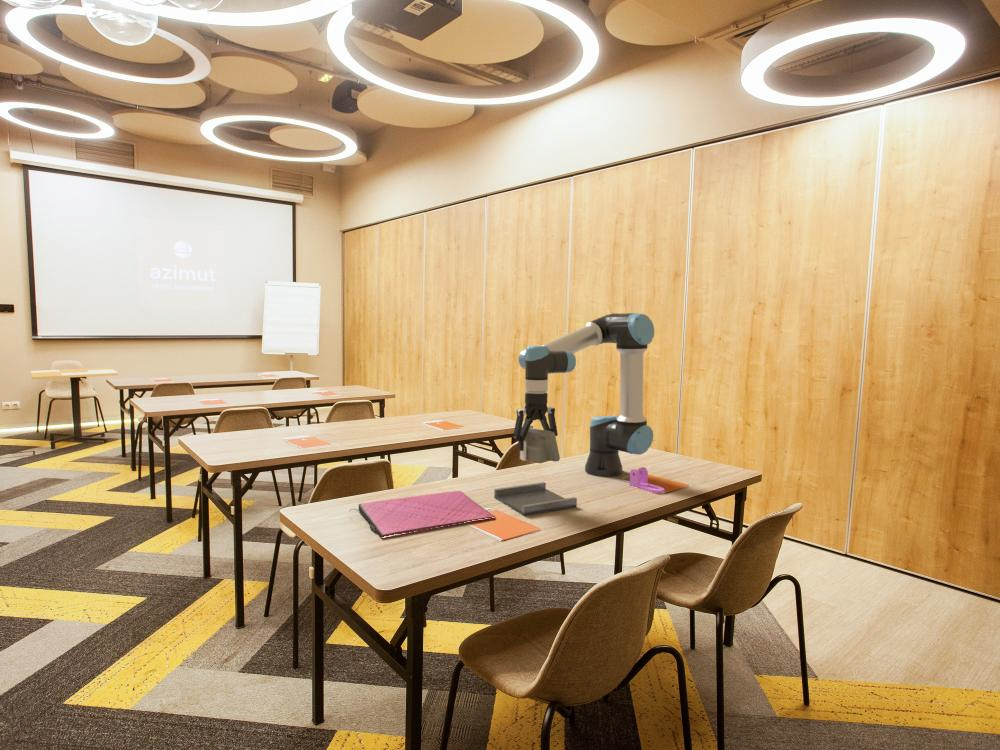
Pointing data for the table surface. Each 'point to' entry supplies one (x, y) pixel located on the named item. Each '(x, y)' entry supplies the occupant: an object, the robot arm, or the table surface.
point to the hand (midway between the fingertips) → (535, 458)
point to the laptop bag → (421, 512)
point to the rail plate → (533, 499)
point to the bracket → (643, 481)
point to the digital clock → (541, 446)
